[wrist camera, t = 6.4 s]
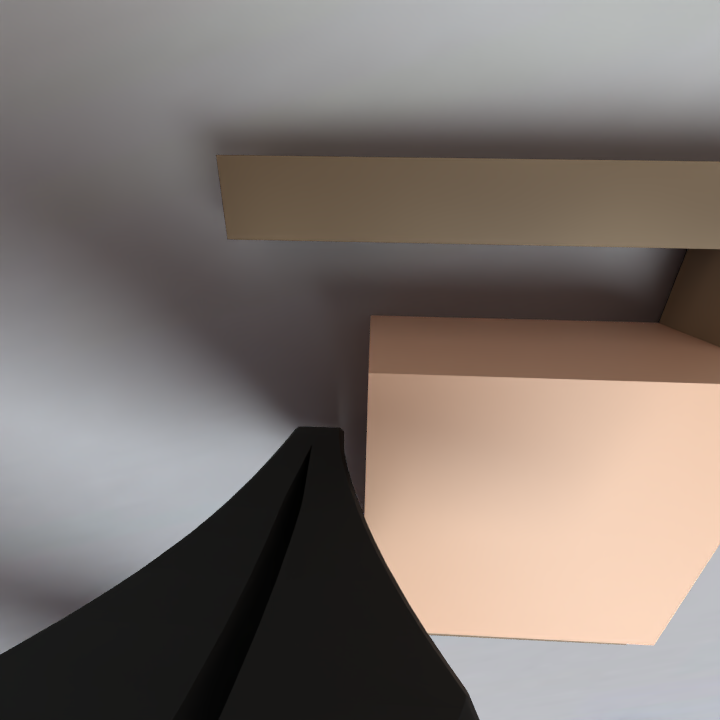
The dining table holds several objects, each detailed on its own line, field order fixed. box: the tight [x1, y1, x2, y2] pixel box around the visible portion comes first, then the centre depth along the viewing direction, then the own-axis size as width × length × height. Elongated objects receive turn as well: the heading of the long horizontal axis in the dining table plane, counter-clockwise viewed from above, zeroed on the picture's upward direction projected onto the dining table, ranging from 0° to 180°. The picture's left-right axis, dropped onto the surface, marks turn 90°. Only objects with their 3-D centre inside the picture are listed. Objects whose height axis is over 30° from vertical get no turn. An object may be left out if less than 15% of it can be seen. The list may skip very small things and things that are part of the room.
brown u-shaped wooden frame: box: [216, 155, 720, 645], centre depth 10 cm, size 15×12×2 cm
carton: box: [364, 315, 720, 645], centre depth 9 cm, size 8×8×4 cm
